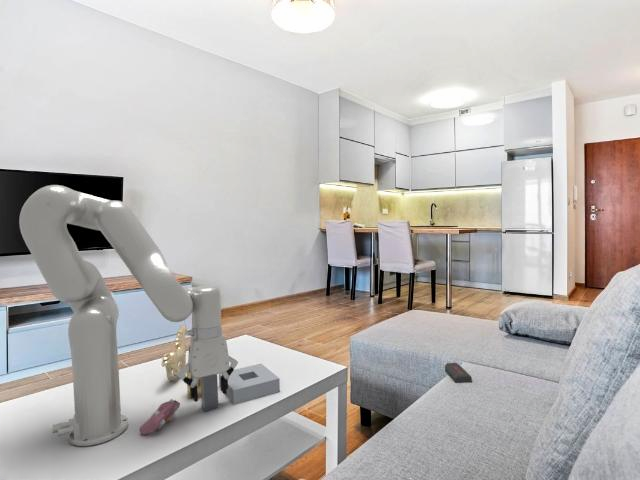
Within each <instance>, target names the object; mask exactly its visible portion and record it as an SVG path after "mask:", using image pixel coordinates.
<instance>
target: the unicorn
mask: <svg viewBox="0 0 640 480" xmlns="http://www.w3.org/2000/svg"><path fill="white" fill-rule="evenodd" d="M187 331H188V330H187V325H186V320H184V321H183V325H182V324H181V325H180V326H179V329H178V330H177V332H176V338H175V343H174V347H173V350H172V351H170V352H166V353H164V355H163V356H162V361H161V367H162V368H164V367H165V371H166V378H167V379H168V380H169V382H174V379H173V377H172V374H173V375H174V376H178V375H177V373H178V372H179V371H180V370H181V369H182V368H183V367H184V366H185V365H186V364H187V362H186V361H187V360H186V359H187V357H186V356H187V342H186V340H187V339H186V336H187Z"/></svg>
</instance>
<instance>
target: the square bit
mask: <svg viewBox="0 0 640 480" xmlns="http://www.w3.org/2000/svg"><path fill="white" fill-rule="evenodd" d="M218 386H219V380H218V374H215V375H211V376H207V377H202V378H201V398H200V399H201V400H200V401H201V409H202V410H203V411H204V413H207V412H211V411H215V410H218V409H219V387H218Z"/></svg>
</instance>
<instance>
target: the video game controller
mask: <svg viewBox="0 0 640 480" xmlns="http://www.w3.org/2000/svg"><path fill="white" fill-rule="evenodd" d="M180 405H181V403H180V402H179V401H177V400H175V399H174V400H173V399H172V398H170V400H168V401H165V402H163V403H161V404H160V405H159V406H158V408H157V409H156V410H155V412H154V413H153V414H152V415H151V416H150V418H149V419H147V421H145V422H144V423H143V424H142V425H141V426H140V427H139V433H140V434H141V435H142V436H143V435H144V436H145V435H148V434H150V433H152V432H153V431H155V430H157V431H160V430H161V429H162V427H164V425H165V424H168V423H169V422H170V421H171V420H172V417H173V416H174V414H175V413H176V412H177V411H178V409H179V408H180Z"/></svg>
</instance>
